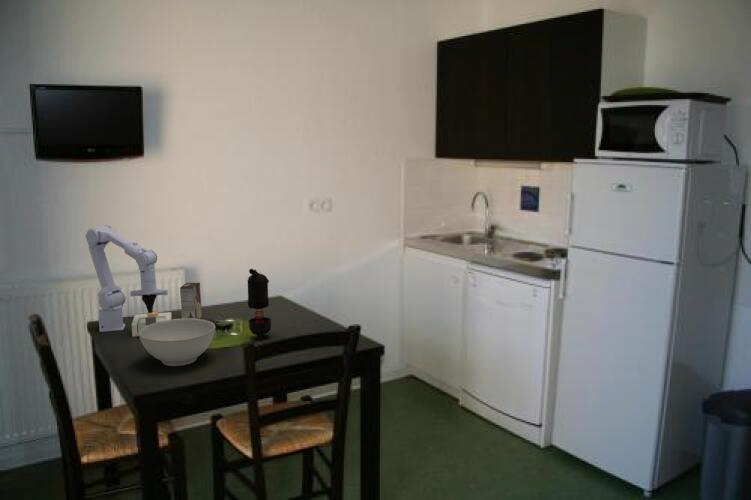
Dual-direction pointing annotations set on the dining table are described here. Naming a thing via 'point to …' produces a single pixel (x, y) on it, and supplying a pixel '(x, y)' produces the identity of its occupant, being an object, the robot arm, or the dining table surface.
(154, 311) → the brown egg
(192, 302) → the coffee box
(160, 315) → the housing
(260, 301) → the filter
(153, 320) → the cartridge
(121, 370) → the dining table surface
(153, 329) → the decorative bowl
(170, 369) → the dining table surface
